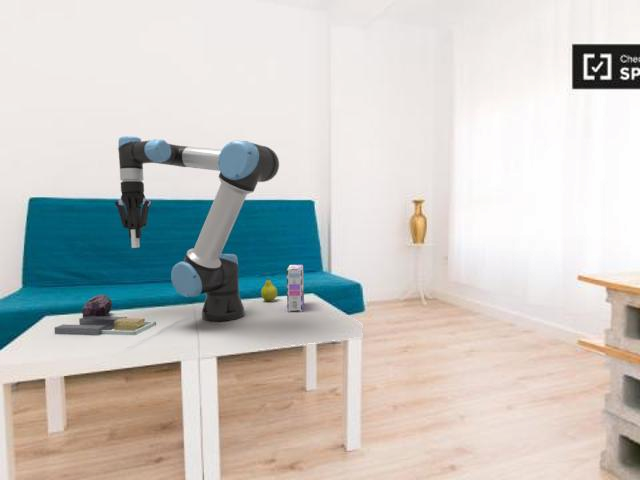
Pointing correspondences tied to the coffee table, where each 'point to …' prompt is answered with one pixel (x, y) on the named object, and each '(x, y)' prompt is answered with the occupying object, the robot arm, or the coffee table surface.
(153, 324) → the tray
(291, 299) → the candy box
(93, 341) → the coffee table surface
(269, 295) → the fruit
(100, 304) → the rock
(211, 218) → the robot arm
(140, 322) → the brass block
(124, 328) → the brass block
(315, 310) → the coffee table surface
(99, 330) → the rail
